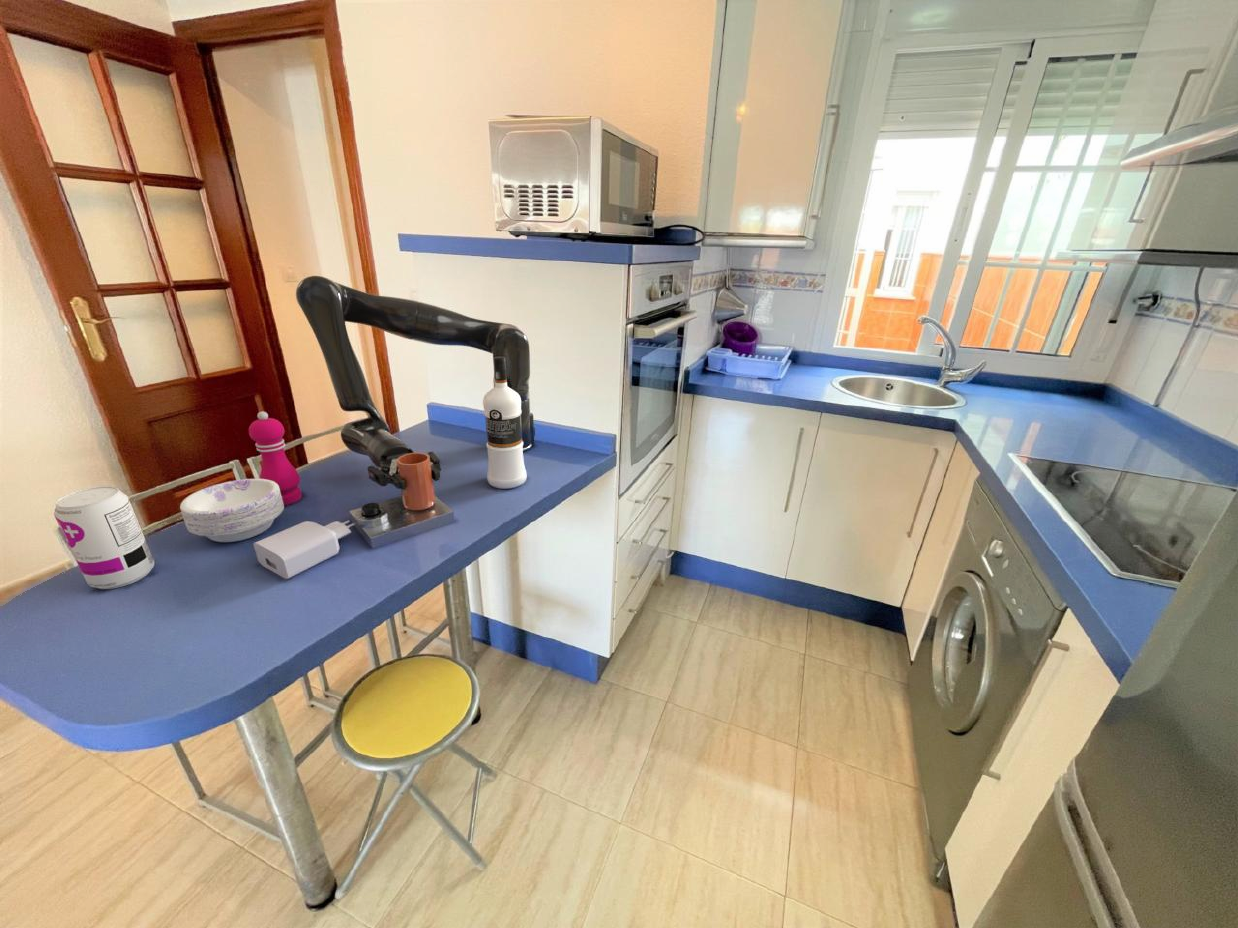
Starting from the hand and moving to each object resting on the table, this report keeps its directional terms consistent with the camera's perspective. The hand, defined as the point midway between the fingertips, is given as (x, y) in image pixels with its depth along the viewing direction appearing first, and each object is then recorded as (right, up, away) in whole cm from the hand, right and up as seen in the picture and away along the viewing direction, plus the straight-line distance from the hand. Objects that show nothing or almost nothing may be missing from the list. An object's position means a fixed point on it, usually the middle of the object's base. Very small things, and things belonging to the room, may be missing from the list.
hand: (420, 480), depth 99 cm
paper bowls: (-34, -10, -2) cm, 35 cm away
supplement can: (-43, -16, -16) cm, 49 cm away
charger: (-16, -13, -8) cm, 22 cm away
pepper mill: (-33, -5, +10) cm, 35 cm away
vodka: (+12, -1, +21) cm, 24 cm away
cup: (-2, -5, +4) cm, 6 cm away
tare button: (-9, -6, -2) cm, 11 cm away
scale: (-5, -8, +3) cm, 10 cm away
